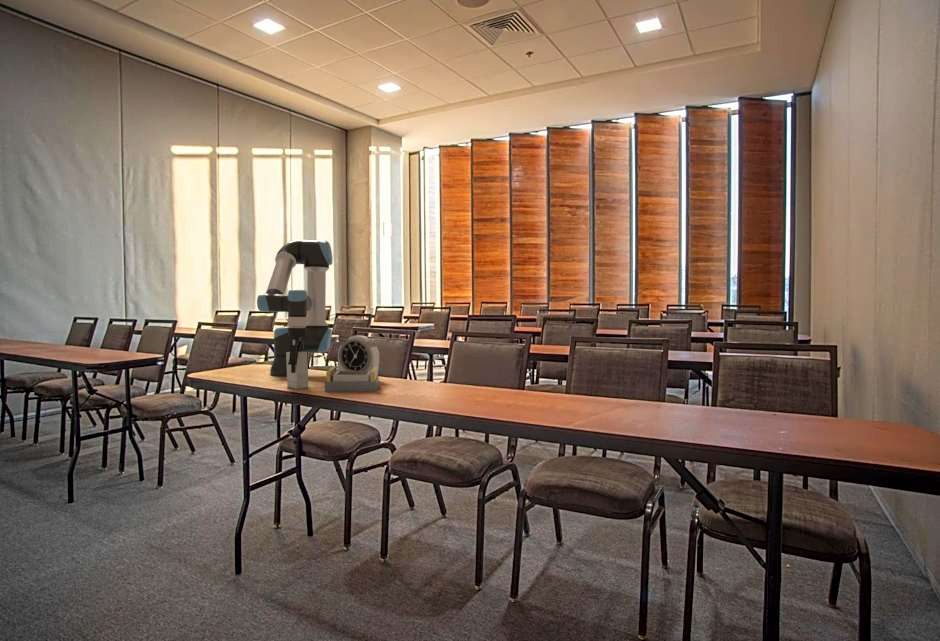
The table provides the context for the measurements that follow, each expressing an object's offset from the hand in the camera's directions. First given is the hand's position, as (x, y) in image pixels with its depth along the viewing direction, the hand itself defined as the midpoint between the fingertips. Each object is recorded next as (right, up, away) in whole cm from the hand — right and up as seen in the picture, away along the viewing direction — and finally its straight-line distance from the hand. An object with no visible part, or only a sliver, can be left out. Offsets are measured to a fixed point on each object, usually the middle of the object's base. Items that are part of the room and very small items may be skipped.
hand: (297, 378), depth 235 cm
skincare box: (0, -4, 0) cm, 4 cm away
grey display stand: (+23, -5, -1) cm, 24 cm away
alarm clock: (+21, -3, +23) cm, 31 cm away
